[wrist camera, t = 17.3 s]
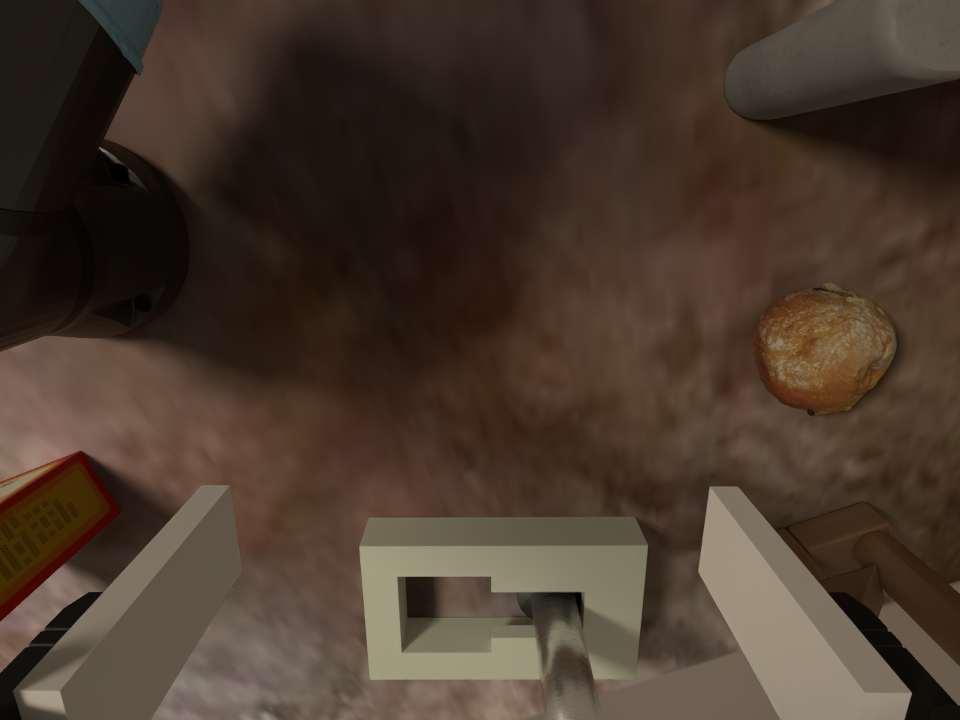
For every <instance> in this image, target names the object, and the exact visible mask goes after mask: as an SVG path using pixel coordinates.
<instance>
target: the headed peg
mask: <svg viewBox="0 0 960 720" xmlns="http://www.w3.org/2000/svg"><path fill="white" fill-rule="evenodd" d="M581 595H582V592H517V599H518V603H519V606H520V608H521V610H522V611H523V612H524V613H525V614H526V615H527V616H528V617H529V618H531V619H533V623H534V632H535V640H536V649H537V657H538V666H539V675H540V683H541V692H542V701H543V709H544V718H545V720H603V717H602V713H601V709H600V704H599V700H598V695H597V691H596V686H595V682H594V677H593V673H592V668H591V664H590V660H589V655H588V651H587V646H586V642H585V637H584V633H583V628H582V624H581V619H580V615H579V613H580V612H581Z"/></svg>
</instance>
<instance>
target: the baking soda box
mask: <svg viewBox="0 0 960 720" xmlns="http://www.w3.org/2000/svg"><path fill="white" fill-rule="evenodd" d="M120 512H121V511H120V509H119V508H118V506H117V505H116V503H115V502H114V500H113V498H112V497H111V495H110V494H109V492H108V491H107V489H106V488H105V486H104V485H103V483H102V482H101V480H100V479H99V477H98V476H97V474H96V473H95V471H94V470H93V468H92V467H91V465H90V464H89V462H88V461H87V459H86V458H85V456H84V454H83V453H82V451H79V452H76V453H74V454H71V455H68V456H66V457H63V458H61V459H58V460H56V461H53V462H51V463H48V464H45V465H43V466H40V467H38V468H35V469H33V470H30V471H28V472H25V473H22V474H20V475H17V476H15V477H12V478H10V479H7V480H5V481H2V482H0V621H1V620H3V619H4V618H5V617H6V616H7V615H8V614H9V613H10V612H11V611H12V610H14V609H15V608H16V607H17V606H18V605H19V604H20V603H21V602H22V601H23V600H25V599H26V598H27V597H28V596H29V595H30V594H31V593H32V592H33V591H34V590H36V589H37V588H38V587H39V586H40V585H41V584H42V583H43V582H44V581H45V580H47V579H48V578H49V577H50V576H51V575H52V574H53V573H54V572H55V571H56V570H58V569H59V568H60V567H61V566H62V565H63V564H64V563H65V562H66V561H67V560H69V559H70V558H71V557H72V556H73V555H74V554H75V553H76V552H77V551H78V550H80V549H81V548H82V547H83V546H84V545H85V544H86V543H87V542H88V541H89V540H91V539H92V538H93V537H94V536H95V535H96V534H97V533H98V532H99V531H100V530H102V529H103V528H104V527H105V526H106V525H107V524H108V523H109V522H110V521H111V520H113V519H114V518H115V517H116V516H117V515H118V514H119V513H120Z"/></svg>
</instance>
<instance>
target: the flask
mask: <svg viewBox="0 0 960 720" xmlns="http://www.w3.org/2000/svg"><path fill="white" fill-rule="evenodd" d="M957 79H960V0H837V1H836V2H834V3H832V4H830V5H828V6H826V7H824V8H822V9H820V10H818V11H816V12H814V13H812V14H810V15H808V16H806V17H804V18H803V19H801V20H799V21H797V22H795V23H793V24H791V25H789V26H787V27H785V28H783V29H781V30H779V31H777V32H775V33H773V34H771V35H770V36H768V37H766V38H764V39H762V40H760V41H758V42H756V43H754V44H752V45H750V46H749V47H747V48H745V49H744V50H742V51H740V52H739V53H737V54H736V56H735V57H734V58H733V60H732V61H731V63H730V64H729V65H728V68H727V71H726V74H725V78H724V96H725V98H726V100H727V102H728V104H729V106H730V108H731V109H732V110H733V111H735V112H736V113H737V114H738V115H739V116H742V117H745V118H749V119H752V120H770V119H777V118H783V117H788V116H792V115H797V114H802V113H806V112H811V111H815V110H820V109H824V108H829V107H834V106H838V105H843V104H847V103H852V102H856V101H861V100H866V99H870V98H875V97H879V96H884V95H888V94H893V93H898V92H902V91H907V90H911V89H916V88H920V87H925V86H929V85H934V84H939V83H943V82H948V81H952V80H957Z"/></svg>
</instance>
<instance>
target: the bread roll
mask: <svg viewBox="0 0 960 720" xmlns="http://www.w3.org/2000/svg"><path fill="white" fill-rule="evenodd" d="M752 347H753V353H754V355H755V362H756V365H757V369H758V372H759V375H760V378H761V380H762V381H763V383H764V385H765V387H766V389H767V391H768V392H770V393H771V394H773V395H774V396H775V397H776V398H777V399H778V400H779V401H780V402H781V403H782V404H785V405H788V406H790V407H793V408H804V409H807V412H808V414H809V415H810V416H817V415H821V414H827V413H833V412H839V411H843V410H845V411H848V410H850V409H851V408H852V406H853V405H855V404H856V402H857V401H858V400H859V399H860V398H861V397H862V396H863V393H866V392H867V391H868V390H870V389H872V388H873V387H874V386H875V385H876V384H877V382H878V380H879V379H880V378H881V377H882V376H883V374H884V373H885V372H886V370H887V369H888V367H889V366H890V364H891V362H892V360H893V358H894V355H895V352H896V349H897V339H896V332H895V329H894V326H893V324H892V322H891V321H890V320H889V318H888V317H887V315H886V313H885V312H884V310H883V309H881V308H880V307H878V306H876V305H875V304H874V303H873V302H872V301H870V300H868V299H866V298H863V297H859V296H857V295H856V293H854V292H852V291H850V292H846V291H844V290H843V289H842V288H841V287H839V286H838V285H836V284H833V283H823V285H822V287H821V288H809V289H808V288H807V289H802V290H801V289H798V290H795V291H793V292H791V293H789V294H786V295H784V296H781V297H780V298H778V299H776V300H775V301H774V302H773V303H772V304H771V305H770V306H769V307H768V308H767V309H766V310H765V312H764V313H763V314H762V316H761V317H760V319H759V321H758V323H757V325H756V327H755V329H754V332H753V336H752Z"/></svg>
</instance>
